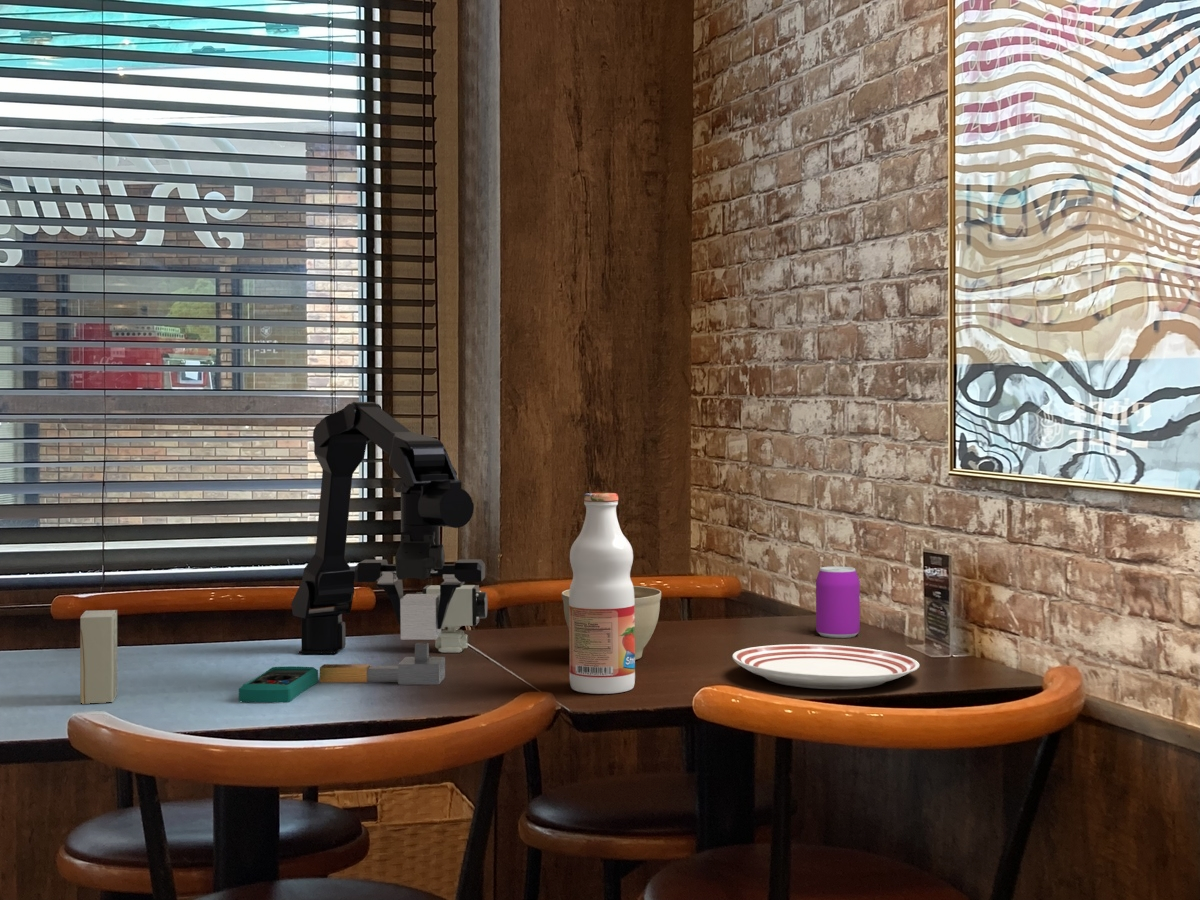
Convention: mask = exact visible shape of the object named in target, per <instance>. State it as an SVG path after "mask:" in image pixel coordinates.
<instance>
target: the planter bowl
mask: <svg viewBox="0 0 1200 900" xmlns="http://www.w3.org/2000/svg"><path fill="white" fill-rule="evenodd" d="M633 587H634V598H635V608H634V611H635V661H636V660H639V659H641V658H642V656H643V651H644V649H645V647H646V646H647V644H648V643H649V642H650V640H651V637H652V635H653V634H654V631H655V629H656V628H657V627H656V626H657V624H658V620H659V616H660V615H659V614H660V610H661V609H660V608H661V607H660V606H661V599H662V591H661V590H660V589H658V588H654V587H648V586H637V585H633ZM569 591H570V588H569V589H566V590H563V591H562V592H561V600H562V602H563V612H564V618H565V621H566V626H567V628H568V629H569Z"/></svg>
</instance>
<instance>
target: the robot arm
mask: <svg viewBox="0 0 1200 900" xmlns="http://www.w3.org/2000/svg"><path fill="white" fill-rule="evenodd" d="M312 438H313V439H312V441H313V443H314V444H313V445H314V446H313V450H314V453H313V454H314V456H315V457H316V460H317V462H318V463H319V465H320V467H321V469H322V471H321V473H322V475H321V485H320V497H319V506H318V507H319V508H318V518H317V519H318V520H317V530H316V543H315V552H314V554H313V556H312V557H311V559H310V560H309V562H307V564H306V565H305V567H304V568H303V573H302V578H301V579H302V580H301V582H300V584H299V587H298V589H297V591H296V593H295V595H294V596H293V599H292V601H291V603H290V605H291V611H292V616H294V617H297V618H300V623H301V624H300V625H301V626H300V628H301V629H300V630H301V631H300V632H301V633H300V634H301V635H300V637H301V639H300V640H301V648H300V649H299V650H298V654H302V655H303V654H304V655H305V654H308V655H309V654H311V655H313V654H316V655H318V654H320V655H321V654H338V653H340V652H341V651H342V650H343V649H345V648H346V641H347V640H346V639H347V638H346V637H347V636H346V622H345V621H343V615H344V614H346V615H347V614H351V610H352V606H353V602H354V601H353V599H354V594H355V585H354V584H355V583H375V587H376V588H379V589H382V590H383V591H384V592H385V593H386V595H387V597H388V599H389V600H390V603H391V606H392V608H393V611H394V614H395V617H396V619H397V622H398V625H399V629H401V616H400V599H401V598H402V597H403V596H404V585H403V580H407V579H419V580H425V579H429V578H432V577H433V578H434V577H435V578H437V577H438V578H442V580H443V582H441V583H440V584H439V585H440V602H439V611H438V629H441V630H442V625H443V622H444V619H445V616H446V613H447V609H448V606H449V603H450V601H451V598H452V596H453V594H454V592H455V590H456V588H459V587H461V586H462V585H465V584H466V583H481V582H483V580H484V579H485V578H486V563H485V562H484V561H483V559H481V558H480V559H478V558H475V559H471V558H470V559H469V558H468V559H465V558H464V559H463V558H462V559H461V558H460V559H458V560H456V561H455V563H454V564H445V562H446V561H445V560H446V556H445V548H444V544H441V534H440V532H441V530H440V529H441V527H446V528H451V529H452V528H453V529H460V528H463V527H464V526H466V525H467V524H468V523H469V522H471V519H472V517H473V514H474V510H475V504H474V502H473V499H472V497H471V495H470V494H469V492H468V491H467V490H465V489H463V487H462V481H461V480H462V479H461V480H459V479H458V477H457V475H458V472H457V471H456V469H455V468H454V466H453V464H452V461H451V460H450V459H451V458H450V456H449V454H448V451H447V450H446V447H445V445H444V444H443V442H442V441H441V440H439V439H438V438H435V437H432V436H431V435H425V434H421V433H420V434H419V433H415V432H413V431H411V430H410V429H408V428H407V427H405V426H404V425H403V424H402V423H400V422H399V421H398V420H396V419H395V418H394V417H392V416H391V414H389V413H387V411H384V410H383V409H382V406H381V405H380V404H379V403H377V402H373V401H352V402H351V403H348V404H346V406H344V408H342V409H340V410H338V411H336V412H333V413H331V414H328V415H326V416H325V417H324V418H322V419H321V420H320V421H319V423H317V424H316V425H315V427H314V429H313V430H312ZM370 442H372V443H374V445H376V446H377V447H379V448H380V449H381V450H382V451H383V452H385V453H386V454H387V455H388V456H389V460H388V465H389V466H390V467H391V469H392V470H393V471H394V473H395V474H396V475H397V476H398V477H399V478H400V479H401V481H400V482H399V483H397V485H396V486H395V487H394V492H395V493H398V494H399V493H400V542H399V545H398V549H397V552H396V554H395V556H394V561H395V563H394V564H389V563H388V559H364V560H362V561H360V562H358V563H357V564H356V565H355V566H354V570H353V569H352V568H351V567H350V565H349V563H348V561H347V559H346V550H347V549H346V547H347V538H348V528H349V517H350V506H351V496H352V495H351V493H352V484H353V474H354V473H355V471H356V470H357V469H358V467H359V466H360V465H361V463H362V462H363V460H364V459H365V456H366V450H367V445H368V444H369V443H370ZM376 582H377V583H376Z"/></svg>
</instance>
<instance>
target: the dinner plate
mask: <svg viewBox="0 0 1200 900" xmlns="http://www.w3.org/2000/svg"><path fill="white" fill-rule="evenodd" d="M732 660H733V661H734V662H735V663H736V664H737V665H739V666H740V667H742V668H743V669H745V670H747V671H749V672H751V673H752V674H754V675H758V676H760V677H763V678H764V679H766V680H768V681H769V682H773V683H776V684H778V685H779V684H780V685H785V686H791V687H797V688H798V687H799V688H806V689H820V690H855V689H865V688H872V687H876V686H880V685H883V684H885V683H886V682H890V681H893V680H896V679H899V678H901V677H903V676H906V675H908V674H910V673H912V672H915V671H917V670H918V669H919V668H920V663H919V662H918V661H917V660H916V659H914V658H912V657H910V656H907V655H903V654H899V653H896V652H892V651H891V652H890V651H886V650H879V649H873V648H867V647H857V646H850V645H849V646H848V645H847V646H846V645H838V644H837V645H836V644H811V643H808V644H807V643H806V644H804V643H803V644H800V643H799V644H795V643H793V644H791V643H790V644H774V645H773V644H771V645H770V644H769V645H762V646H761V645H760V646H753V647H747V648H742V649H740V650H737V651H735V652H733V654H732Z"/></svg>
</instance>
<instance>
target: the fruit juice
mask: <svg viewBox="0 0 1200 900" xmlns="http://www.w3.org/2000/svg"><path fill="white" fill-rule="evenodd" d="M583 503H584V506H585V509H586V510H585V517H584V522H583V524H582V528H581V530H580V533H579V534H578V536H577V537H576V539H575V540H574V542H573V543H572V545H571V547H570V550H569V562H570V566H571V570H572V572H573V573H572V580H571V583H570V585H569V589H570V591H569V628H568V631H569V632H568V634H569V638H568V639H569V641H568V642H569V643H568V644H569V647H568V649H569V684H570V685H569V686H570V688H571V690H573V691H575V692H578V693H584V694H592V695H593V694H595V695H608V694H609V695H610V694H619V693H624V692H629V691H631V690H633V689H634V687H635V681H636V660H635V611H634V608H635V598H634V587H633V586H634V584H633V581H632V579H631V570H632V566H633V561H634V551H633V547H632V545H631V542H629V540H628V538H627V537H626V536H625V535H624V534H623V532H622V530H621V527H620V523H619V520H618V515H617V506H618V504H619V495H618V493H615V492H590V493H585V494H584V496H583Z"/></svg>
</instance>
